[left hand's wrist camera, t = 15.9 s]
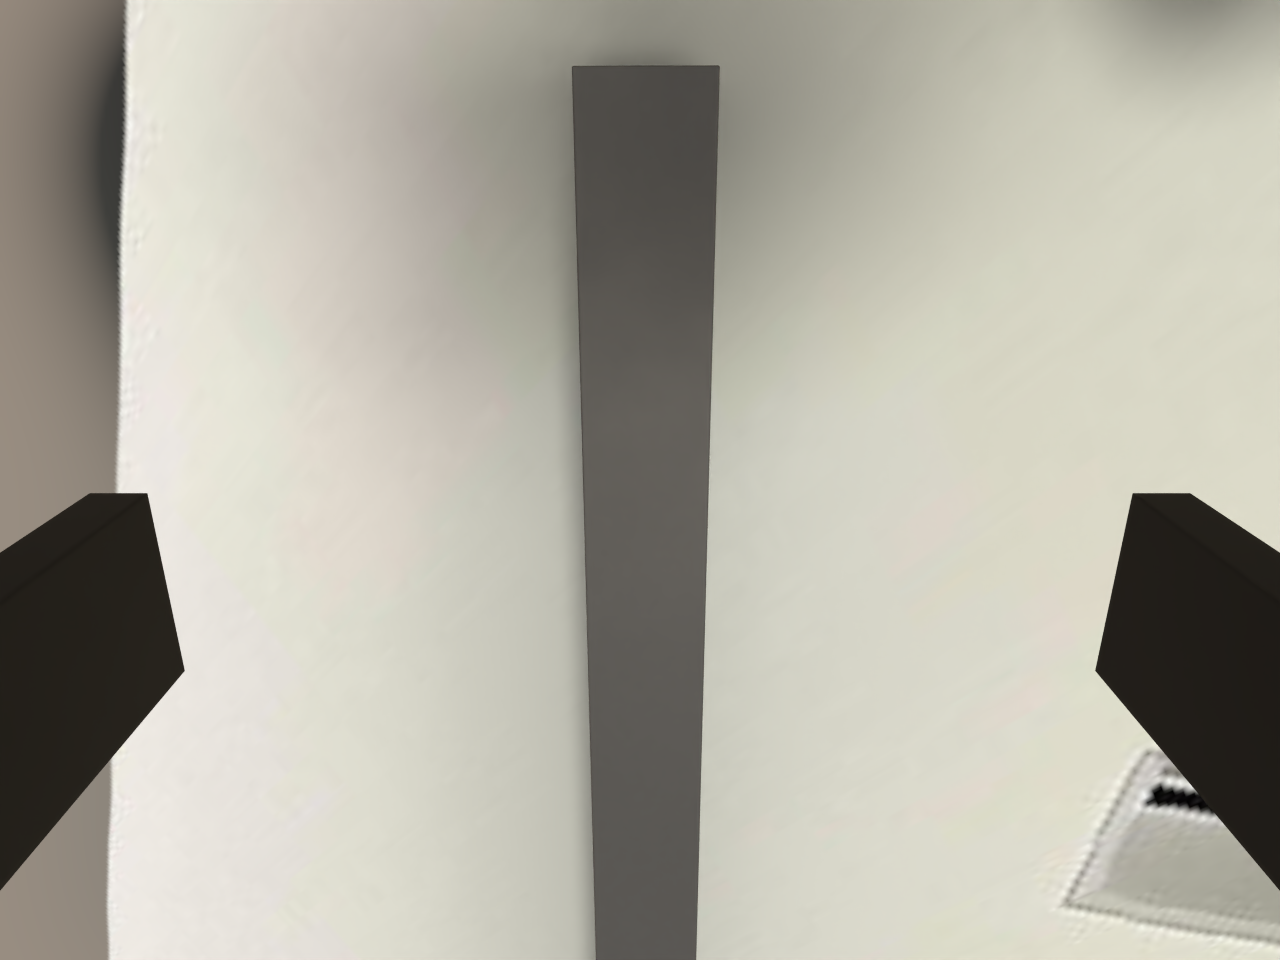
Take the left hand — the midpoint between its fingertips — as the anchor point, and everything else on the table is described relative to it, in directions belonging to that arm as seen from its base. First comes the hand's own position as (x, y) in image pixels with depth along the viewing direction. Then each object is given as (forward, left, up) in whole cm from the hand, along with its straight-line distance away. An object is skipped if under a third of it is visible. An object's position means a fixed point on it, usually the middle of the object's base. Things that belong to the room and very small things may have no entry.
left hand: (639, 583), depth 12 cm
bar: (+33, +7, -31) cm, 45 cm away
